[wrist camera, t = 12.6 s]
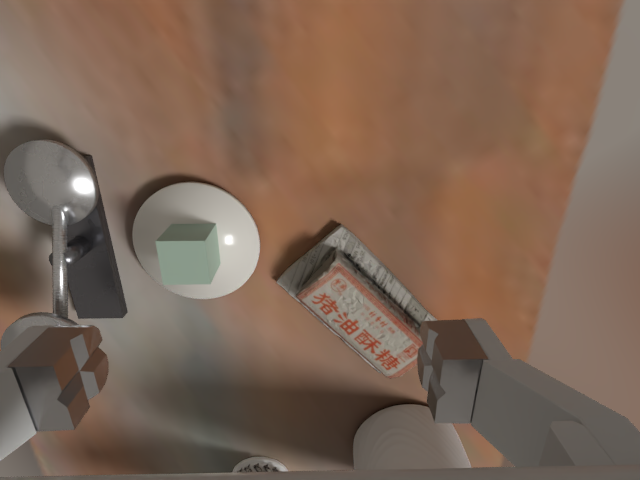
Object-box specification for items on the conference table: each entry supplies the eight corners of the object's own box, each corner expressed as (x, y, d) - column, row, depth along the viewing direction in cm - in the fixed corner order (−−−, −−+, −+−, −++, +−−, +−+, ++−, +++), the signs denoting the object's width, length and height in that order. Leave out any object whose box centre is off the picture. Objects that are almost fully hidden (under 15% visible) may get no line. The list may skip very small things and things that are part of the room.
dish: (127, 180, 40) (120, 184, 39) (256, 178, 40) (254, 182, 39) (149, 292, 45) (144, 299, 44) (264, 291, 45) (263, 298, 44)
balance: (18, 135, 38) (-76, 155, 29) (102, 134, 38) (35, 154, 29) (75, 327, 47) (16, 389, 37) (143, 326, 47) (101, 388, 38)
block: (171, 223, 40) (155, 241, 36) (216, 223, 40) (205, 240, 36) (177, 263, 42) (163, 284, 38) (220, 263, 42) (210, 284, 38)
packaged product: (455, 347, 43) (384, 396, 46) (442, 321, 48) (378, 367, 50) (343, 236, 38) (271, 299, 41) (340, 219, 42) (275, 276, 45)
